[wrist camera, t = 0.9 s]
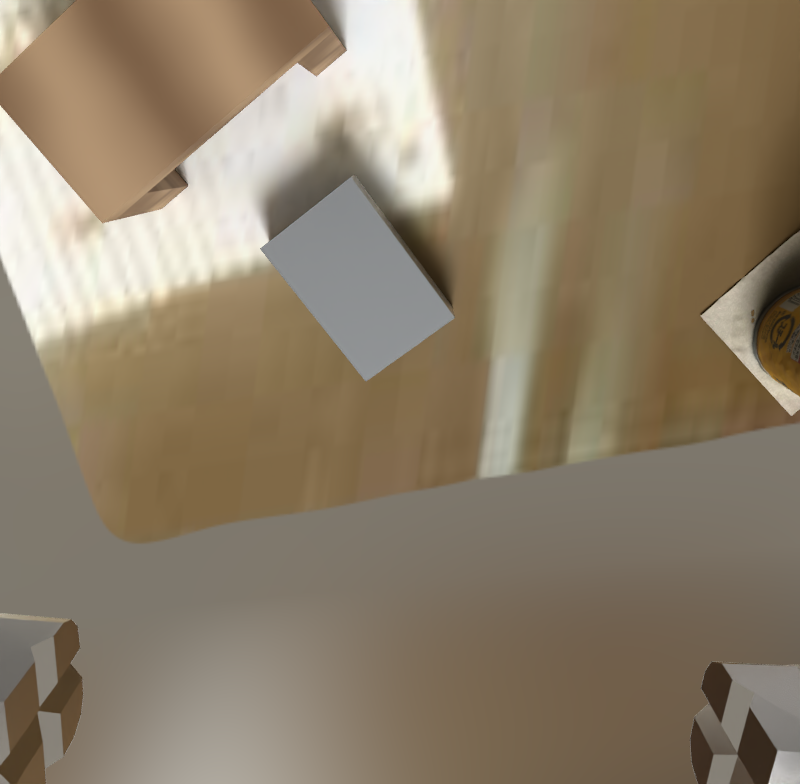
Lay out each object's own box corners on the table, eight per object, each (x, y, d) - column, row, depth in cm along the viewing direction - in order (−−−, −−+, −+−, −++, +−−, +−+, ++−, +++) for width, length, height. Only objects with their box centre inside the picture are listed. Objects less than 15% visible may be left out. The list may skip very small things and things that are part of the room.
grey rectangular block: (355, 174, 40) (350, 176, 37) (452, 306, 42) (454, 317, 39) (270, 241, 41) (260, 248, 38) (369, 366, 43) (365, 381, 40)
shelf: (257, -75, 36) (214, -134, 28) (346, 50, 38) (329, 25, 30) (69, 99, 39) (-15, 88, 31) (161, 208, 40) (102, 223, 33)
